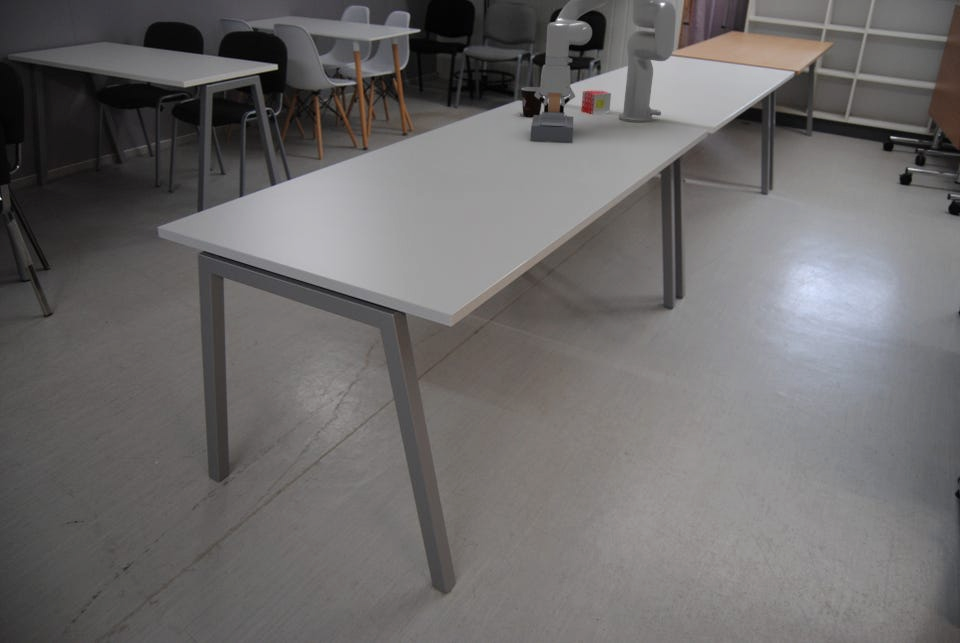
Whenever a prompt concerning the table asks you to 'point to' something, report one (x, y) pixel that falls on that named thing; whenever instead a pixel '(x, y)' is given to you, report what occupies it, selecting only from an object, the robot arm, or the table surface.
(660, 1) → the robot arm
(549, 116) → the shutter
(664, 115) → the table surface
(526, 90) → the dark brown cup
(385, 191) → the table surface
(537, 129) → the socket box
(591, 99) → the puzzle cube
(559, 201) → the table surface
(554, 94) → the plug
